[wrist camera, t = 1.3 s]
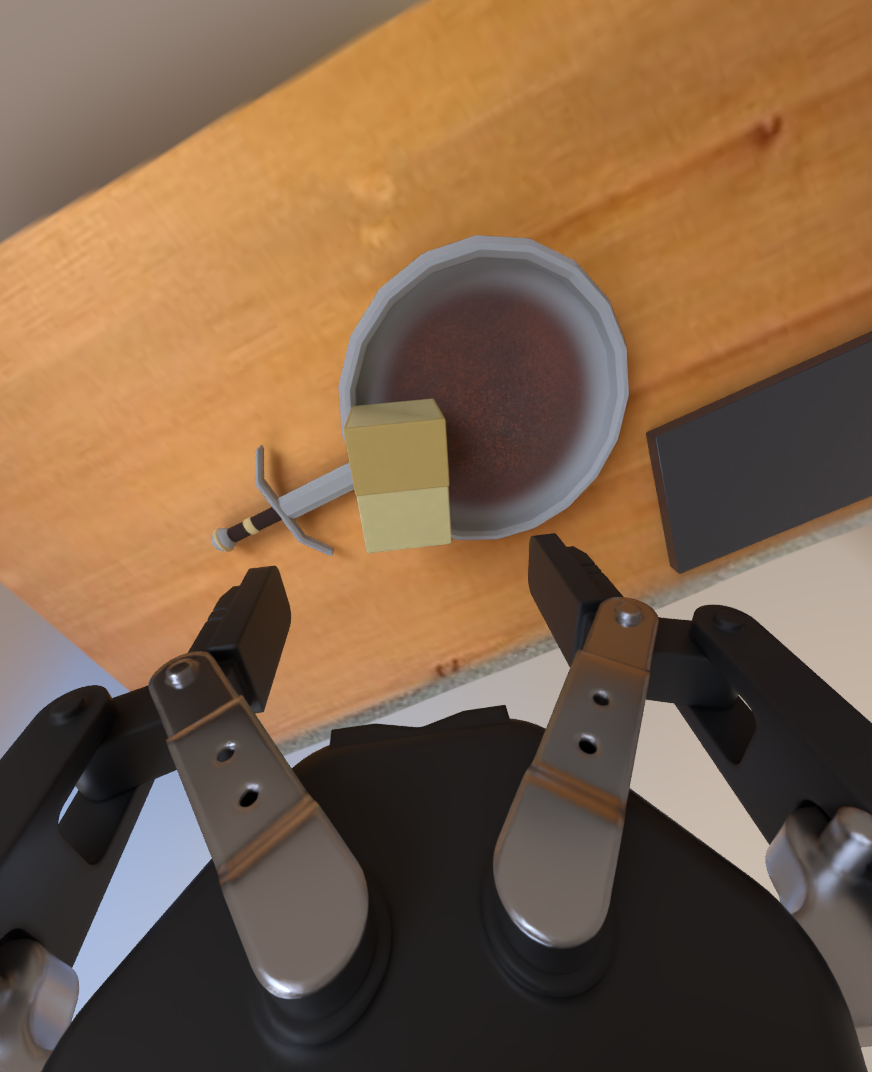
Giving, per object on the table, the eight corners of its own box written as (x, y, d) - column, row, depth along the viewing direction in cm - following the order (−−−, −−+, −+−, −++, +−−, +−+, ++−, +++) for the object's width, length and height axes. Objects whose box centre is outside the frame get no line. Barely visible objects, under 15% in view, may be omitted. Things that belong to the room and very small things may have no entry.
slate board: (956, 292, 25) (981, 291, 24) (926, 461, 31) (945, 466, 30) (645, 432, 27) (655, 437, 26) (670, 566, 33) (679, 574, 32)
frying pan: (96, 435, 22) (598, 152, 18) (127, 422, 24) (573, 172, 20) (286, 643, 30) (662, 478, 26) (295, 617, 32) (638, 464, 28)
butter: (433, 398, 22) (445, 418, 18) (441, 504, 25) (453, 544, 21) (351, 406, 22) (342, 428, 18) (369, 512, 25) (365, 554, 21)
